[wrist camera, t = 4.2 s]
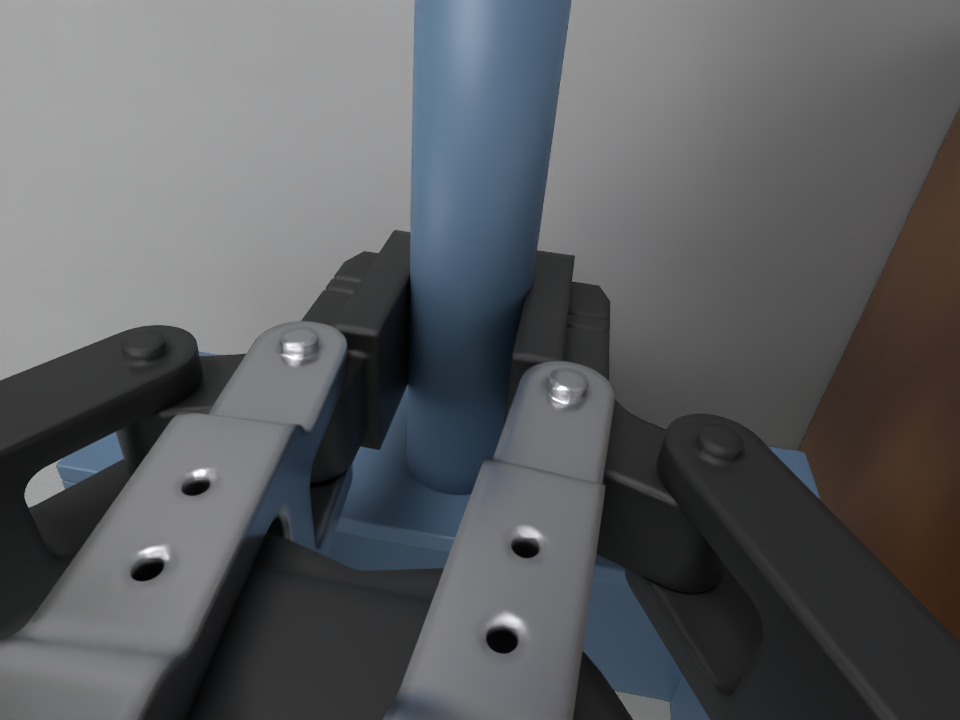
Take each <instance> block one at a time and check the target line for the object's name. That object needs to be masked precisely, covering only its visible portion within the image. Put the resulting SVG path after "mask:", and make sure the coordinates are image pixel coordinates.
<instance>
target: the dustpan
mask: <svg viewBox="0 0 960 720" xmlns="http://www.w3.org/2000/svg"><path fill="white" fill-rule="evenodd" d="M570 7H571V0H415V15H414V70H413V124H412V178H411V233H410V305H409V359H408V386H407V387H406V390H405V392H404V394H403V397H402V399H401V402H400V404H399V406H398V409H397V411H396V413H395V416H394V418H393V420H392V423H391V425H390V427H389V430H388V432H387V434H386V437H385V439H384V441H383V444H382V446H381V449H380V450H377V449H371V448H365V447H360V448H359V450H358V452H357V454H356V457H355V459H354V461H353V462H352V464H353V479H352V483H351V486H350V489H349V492H348V495H347V498H346V501H345V504H344V507H343V510H342V513H341V516H340V519H339V522H338V525H337V528H336V531H335V535H334V538H333V541H332V544H331V547H330V550H329V553H328V556H327V557H328V558H330V559H332V560H334V561H337V562H339V563H341V564H343V565H345V566H348V567H350V568H353V569H356V570H364V571H370V570H402V569H433V568H444V567H445V564H446V562H447V559H448V556H449V554H450V551H451V548H452V545H453V543H454V540H455V537H456V534H457V532H458V529H459V526H460V524H461V521H462V518H463V515H464V513H465V510H466V507H467V504H468V502H469V499H470V496H471V493H472V491H473V488H474V485H475V483H476V480H477V477H478V474H479V472H480V469H481V466H482V464H483V462H484V460H485V458H486V457H490V458H493V457H494V454H495V451H496V448H497V445H498V443H499V440H500V437H501V434H502V431H503V425H504V417H505V409H506V401H507V393H508V385H509V377H510V369H511V361H512V354H513V350H514V345H515V341H516V337H517V332H518V328H519V324H520V319H521V315H522V310H523V306H524V302H525V297H526V293H527V291H528V290H529V289H530V288H531V285H532V282H533V275H534V268H535V261H536V253H537V246H538V239H539V232H540V224H541V217H542V210H543V203H544V195H545V188H546V181H547V174H548V166H549V159H550V152H551V145H552V137H553V130H554V123H555V116H556V108H557V101H558V94H559V87H560V79H561V72H562V65H563V58H564V51H565V43H566V36H567V29H568V22H569V14H570ZM199 356H216V355H215V354H209V353H203V352H199ZM666 430H667V429H666ZM768 447H769V448H770V449H771V450H772V451H773V452H774V453H775V454H776V455H777V456H778V457H779V458H780V459H781V461H782V462H783V463H784V464H785V465H786V466H787V467H788V468H789V469H790V470H791V471H792V472H793V473H794V474H795V475H796V476H797V477H798V478H799V479H800V480H801V481H802V482H803V483H804V484H805V485H806V486H807V487H808V488H809V489H810V490H811V491H812V492H813V493H814V494H815V495H816V496H817V497H818V498H819V499H820V496H819V493H818V490H817V487H816V484H815V481H814V478H813V475H812V472H811V469H810V466H809V463H808V460H807V457H806V454H805V453H804V452H800V451H794V450H788V449H782V448H776V447H770V446H768ZM122 459H124V457H123V454H122V450H121V447H120V444H119V441H118V438H117V435H116V432H114V433H112V434H110V435H108V436H106V437H104V438H102V439H100V440H98V441H96V442H94V443H92V444H90V445H88V446H86V447H84V448H82V449H80V450H78V451H76V452H74V453H72V454H70V455H68V456H66V457H64V458H62V459H61V460H60V461H59V462H58V463H57V465H56V467H57V469H58V472H59V474H60V477H61V479H63V481H62V482H63V484H64V487H65V489H67V488H69V487H71V486H73V485H75V484H77V483H79V482H81V481H82V480H84V479H86V478H88V477H90V476H92V475H94V474H96V473H98V472H99V471H101V470H103V469H105V468H107V467H109V466H111V465H113V464H115V463H117V462H118V461H120V460H122ZM820 500H821V499H820ZM583 651H584V652H585V653H586V654H587V656H588V657H589V658H590V659H591V660H592V662H593V663H594V664H595V665H596V666H597V667H598V669H599V670H600V671H601V672H602V674H603V675H604V677H605V678H606V679H607V681H608V682H609V684H610V685H611V687H612V688H613V690H614V691H619V692H624V693H629V694H634V695H639V696H644V697H649V698H654V699H659V700H664V701H669V702H670V709H671V720H710V719H709V717H708V715H707V714H706V712H705V711H704V709H703V707H702V706H701V704H700V702H699V701H698V699H697V697H696V696H695V694H694V692H693V691H692V689H691V687H690V686H689V684H688V683H687V681H686V679H685V678H684V676H683V674H682V673H681V671H680V669H679V668H678V666H677V664H676V663H675V661H674V659H673V658H672V656H671V654H670V653H669V651H668V650H667V648H666V646H665V645H664V643H663V641H662V640H661V638H660V636H659V635H658V633H657V631H656V630H655V628H654V626H653V625H652V623H651V621H650V620H649V618H648V617H647V615H646V613H645V612H644V610H643V608H642V607H641V605H640V603H639V602H638V600H637V598H636V597H635V595H634V593H633V592H632V590H631V589H630V587H629V585H628V583H627V580H626V577H625V569H624V567H622V566H620V565H618V564H616V563H614V562H612V561H610V560H608V559H606V558H603V557H601V556H599V555H597V554H596V560H595V567H594V574H593V581H592V588H591V595H590V602H589V609H588V616H587V623H586V630H585V637H584V644H583Z"/></svg>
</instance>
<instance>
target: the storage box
mask: <svg viewBox="0 0 960 720" xmlns="http://www.w3.org/2000/svg"><path fill="white" fill-rule="evenodd" d="M798 451H800V452H804V453H805V454H806V457H807V460H808V463H809V466H810V469H811V472H812V475H813V478H814V481H815V484H816V487H817V490H818V493H819V496H820V499H821V501H822V502H823V503H824V504H825V505H826V506H827V507H828V508H829V509H830V510H831V511H832V512H833V513H834V514H835V515H836V517H837V518H838V519H839V520H840V521H841V522H842V523H843V524H844V525H845V526H846V527H847V528H848V529H849V530H850V531H851V532H852V533H853V534H854V535H855V536H856V537H857V538H858V539H859V540H860V541H861V542H862V543H863V544H864V545H865V546H866V547H867V548H868V549H869V550H870V551H871V552H872V553H873V554H874V555H875V556H876V557H877V558H878V559H879V560H880V561H881V562H882V563H883V564H884V565H885V566H886V567H887V568H888V569H889V570H890V571H891V572H892V574H893V575H894V576H895V577H896V578H897V579H898V580H899V581H900V582H901V583H902V584H903V585H904V586H905V587H906V588H907V589H908V590H909V591H910V592H911V593H912V594H913V595H914V596H915V597H916V598H917V599H918V600H919V601H920V602H921V603H922V604H923V605H924V606H925V607H926V608H927V609H928V610H929V611H930V612H931V613H932V614H933V615H934V616H935V617H936V618H937V619H938V620H939V621H940V622H941V623H942V624H943V625H944V626H945V627H946V628H947V629H948V631H949V632H950V633H951V634H952V635H953V636H954V637H955V638H956V639H957V640H958V641H959V642H960V108H959V110H958V112H957V115H956V117H955V119H954V121H953V123H952V125H951V127H950V129H949V132H948V134H947V136H946V138H945V140H944V142H943V144H942V146H941V148H940V151H939V153H938V155H937V157H936V159H935V161H934V163H933V165H932V168H931V170H930V172H929V174H928V176H927V178H926V180H925V182H924V185H923V187H922V189H921V191H920V193H919V195H918V197H917V199H916V201H915V204H914V206H913V208H912V210H911V212H910V214H909V216H908V218H907V221H906V223H905V225H904V227H903V229H902V231H901V233H900V235H899V237H898V240H897V242H896V244H895V246H894V248H893V250H892V252H891V254H890V257H889V259H888V261H887V263H886V265H885V267H884V269H883V271H882V273H881V276H880V278H879V280H878V282H877V284H876V286H875V288H874V290H873V293H872V295H871V297H870V299H869V301H868V303H867V305H866V307H865V310H864V312H863V314H862V316H861V318H860V320H859V322H858V324H857V326H856V329H855V331H854V333H853V335H852V337H851V339H850V341H849V343H848V346H847V348H846V350H845V352H844V354H843V356H842V358H841V360H840V362H839V365H838V367H837V369H836V371H835V373H834V375H833V377H832V379H831V382H830V384H829V386H828V388H827V390H826V392H825V394H824V396H823V399H822V401H821V403H820V405H819V407H818V409H817V411H816V413H815V415H814V418H813V420H812V422H811V424H810V426H809V428H808V430H807V432H806V435H805V437H804V439H803V441H802V443H801V445H800V447H799V449H798Z"/></svg>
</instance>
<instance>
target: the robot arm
mask: <svg viewBox="0 0 960 720" xmlns="http://www.w3.org/2000/svg"><path fill="white" fill-rule="evenodd" d="M410 233H411V232H405V231H398V230H395V231H393V233H392V234H391V236H390V237H389V239H388V240H387V242H386V243H385V245H384V246H383V248H382V249H381V251H380V252H379V253H373V252H366V251H364V252H362V253H360V254H358V255H357V256H355V257H353V258H351V259H349V260H347V261H346V262H344V264H343V265H342V266H341V268H340V269H339V270H338V272H337V273H336V274H335V276H334V279H332V280H331V281H330V283H329V284H328V285H327V287H326V291H325V290H324V291H323V292H322V293H321V295H320V296H319V297H318V299H317V300H316V302H315V303H314V304H313V306H312V307H311V308H310V310H309V311H308V312H307V314H306V315H305V316H304V318H303V319H302V321H300V322H290V323H285V324H281V325H278V326H275V327H273V328H271V329H268V330H267V331H265V332H264V333H262V334H261V335H260V336H259V337H258V338H257V339H256V340H255V342H254V343H253V345H252V346H251V348H250V349H249V351H248V352H247V354H238V355H216V356H199V351H198V346H197V342H196V339H195V338H194V336H193V335H192V334H190V333H189V332H187V331H185V330H183V329H180V328H177V327H172V326H164V325H154V326H144V327H138V328H134V329H130V330H127V331H124V332H121V333H118V334H116V335H113V336H111V337H108V338H106V339H103V340H101V341H98V342H96V343H93V344H91V345H88V346H86V347H83V348H81V349H78V350H76V351H73V352H71V353H68V354H66V355H63V356H61V357H58V358H56V359H53V360H51V361H48V362H46V363H43V364H41V365H38V366H36V367H33V368H31V369H28V370H26V371H23V372H21V373H18V374H16V375H13V376H11V377H8V378H6V379H3V380H1V381H0V720H633V719H632V718H631V716H630V714H629V713H628V711H627V710H626V708H625V707H624V705H623V704H622V702H621V701H620V699H619V698H618V696H617V694H616V693H615V691H614V690H613V688H612V687H611V685H610V684H609V682H608V681H607V679H606V678H605V677H604V675H603V674H602V672H601V671H600V670H599V669H598V667H597V666H596V665H595V664H594V663H593V662H592V660H591V659H590V658H589V657H588V656H587V654H586V653H585V652H584V651H583V644H584V637H585V630H586V623H587V616H588V609H589V602H590V595H591V588H592V581H593V574H594V567H595V560H596V554H597V555H599V556H601V557H603V558H606V559H608V560H610V561H612V562H614V563H616V564H618V565H620V566H622V567H624V569H625V577H626V580H627V583H628V585H629V587H630V589H631V590H632V592H633V593H634V595H635V597H636V598H637V600H638V602H639V603H640V605H641V607H642V608H643V610H644V612H645V613H646V615H647V617H648V618H649V620H650V621H651V623H652V625H653V626H654V628H655V630H656V631H657V633H658V635H659V636H660V638H661V640H662V641H663V643H664V645H665V646H666V648H667V650H668V651H669V653H670V654H671V656H672V658H673V659H674V661H675V663H676V664H677V666H678V668H679V669H680V671H681V673H682V674H683V676H684V678H685V679H686V681H687V683H688V684H689V686H690V687H691V689H692V691H693V692H694V694H695V696H696V697H697V699H698V701H699V702H700V704H701V706H702V707H703V709H704V711H705V712H706V714H707V715H708V717H709V719H710V720H960V642H959V641H958V640H957V639H956V638H955V637H954V636H953V635H952V634H951V633H950V632H949V631H948V629H947V628H946V627H945V626H944V625H943V624H942V623H941V622H940V621H939V620H938V619H937V618H936V617H935V616H934V615H933V614H932V613H931V612H930V611H929V610H928V609H927V608H926V607H925V606H924V605H923V604H922V603H921V602H920V601H919V600H918V599H917V598H916V597H915V596H914V595H913V594H912V593H911V592H910V591H909V590H908V589H907V588H906V587H905V586H904V585H903V584H902V583H901V582H900V581H899V580H898V579H897V578H896V577H895V576H894V575H893V574H892V572H891V571H890V570H889V569H888V568H887V567H886V566H885V565H884V564H883V563H882V562H881V561H880V560H879V559H878V558H877V557H876V556H875V555H874V554H873V553H872V552H871V551H870V550H869V549H868V548H867V547H866V546H865V545H864V544H863V543H862V542H861V541H860V540H859V539H858V538H857V537H856V536H855V535H854V534H853V533H852V532H851V531H850V530H849V529H848V528H847V527H846V526H845V525H844V524H843V523H842V522H841V521H840V520H839V519H838V518H837V517H836V515H835V514H834V513H833V512H832V511H831V510H830V509H829V508H828V507H827V506H826V505H825V504H824V503H823V502H822V501H821V500H820V499H819V498H818V497H817V496H816V495H815V494H814V493H813V492H812V491H811V490H810V489H809V488H808V487H807V486H806V485H805V484H804V483H803V482H802V481H801V480H800V479H799V478H798V477H797V476H796V475H795V474H794V473H793V472H792V471H791V470H790V469H789V468H788V467H787V466H786V465H785V464H784V463H783V462H782V461H781V459H780V458H779V457H778V456H777V455H776V454H775V453H774V452H773V451H772V450H771V449H770V448H769V447H768V446H767V445H766V444H765V443H764V442H763V441H762V440H761V439H760V438H759V437H758V436H757V435H755V434H754V433H753V432H752V431H750V430H749V429H747V428H746V427H744V426H742V425H740V424H739V423H736V422H734V421H732V420H729V419H726V418H723V417H719V416H715V415H708V414H692V415H686V416H682V417H680V418H678V419H676V420H675V421H673V422H672V423H671V424H670V425H669V427H668V428H667V430H666V429H664V428H661V427H658V426H656V425H653V424H651V423H648V422H646V421H644V420H641V419H639V418H637V417H636V416H634V415H632V414H631V413H629V412H628V411H626V410H625V409H624V408H623V407H622V406H621V405H619V404H618V402H617V401H616V400H615V393H614V389H613V387H612V385H611V384H610V383H609V336H610V334H609V331H610V321H609V320H610V300H609V299H608V298H607V296H606V295H605V293H604V292H603V291H602V289H601V288H600V286H597V285H591V284H584V283H577V282H572V275H573V267H574V258H575V256H573V255H566V254H559V253H552V252H545V251H538V250H537V253H536V261H535V268H534V275H533V282H532V285H531V288H530V289H529V290H528V291H527V293H526V297H525V302H524V306H523V310H522V315H521V319H520V324H519V328H518V332H517V337H516V341H515V345H514V350H513V354H512V361H511V369H510V377H509V385H508V393H507V401H506V409H505V417H504V425H503V431H502V434H501V437H500V440H499V443H498V445H497V448H496V451H495V454H494V457H493V458H490V457H486V458H485V460H484V462H483V464H482V466H481V469H480V472H479V474H478V477H477V480H476V483H475V485H474V488H473V491H472V493H471V496H470V499H469V502H468V504H467V507H466V510H465V513H464V515H463V518H462V521H461V524H460V526H459V529H458V532H457V534H456V537H455V540H454V543H453V545H452V548H451V551H450V554H449V556H448V559H447V562H446V564H445V567H444V568H433V569H402V570H370V571H364V570H356V569H353V568H350V567H348V566H345V565H343V564H341V563H339V562H337V561H334V560H332V559H330V558H328V557H327V556H328V553H329V550H330V547H331V544H332V541H333V538H334V535H335V531H336V528H337V525H338V522H339V519H340V516H341V513H342V510H343V507H344V504H345V501H346V498H347V495H348V492H349V489H350V486H351V483H352V479H353V464H352V462H353V461H354V459H355V457H356V454H357V452H358V450H359V448H360V447H365V448H371V449H377V450H380V449H381V446H382V444H383V441H384V439H385V437H386V434H387V432H388V430H389V427H390V425H391V423H392V420H393V418H394V416H395V413H396V411H397V409H398V406H399V404H400V402H401V399H402V397H403V394H404V392H405V390H406V387H407V385H408V359H409V305H410ZM114 432H116V435H117V438H118V441H119V444H120V447H121V450H122V454H123V457H124V459H122V460H120V461H118V462H117V463H115V464H113V465H111V466H109V467H107V468H105V469H103V470H101V471H99V472H98V473H96V474H94V475H92V476H90V477H88V478H86V479H84V480H82V481H81V482H79V483H77V484H75V485H73V486H71V487H69V488H67V489H65V490H64V491H62V492H60V493H58V494H56V495H54V496H52V497H50V498H48V499H46V500H45V501H43V502H41V503H39V504H37V505H35V506H32V507H29V508H28V506H27V504H26V502H25V498H24V493H25V489H26V486H27V484H28V482H29V481H30V480H31V478H32V477H33V476H34V475H35V474H36V473H37V472H38V471H40V470H41V469H43V468H44V467H46V466H48V465H50V464H52V463H54V462H56V461H58V460H60V459H62V458H64V457H66V456H68V455H70V454H72V453H74V452H76V451H78V450H80V449H82V448H84V447H86V446H88V445H90V444H92V443H94V442H96V441H98V440H100V439H102V438H104V437H106V436H108V435H110V434H112V433H114Z"/></svg>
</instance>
